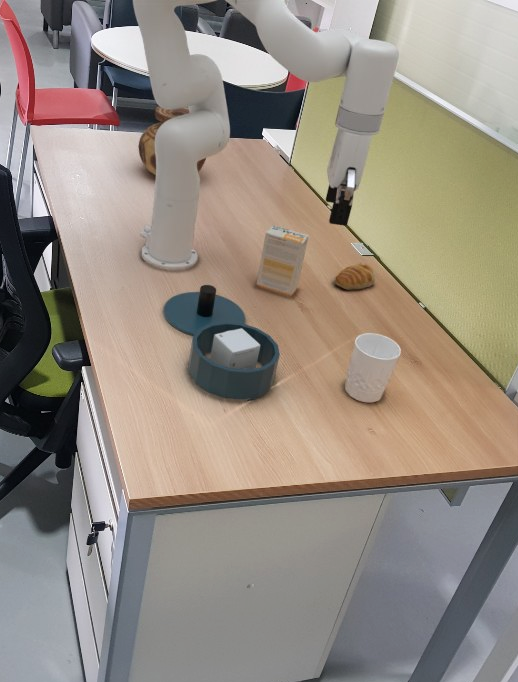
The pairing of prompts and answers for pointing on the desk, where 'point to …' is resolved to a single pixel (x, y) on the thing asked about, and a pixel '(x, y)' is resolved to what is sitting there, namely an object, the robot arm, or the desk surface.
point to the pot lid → (201, 310)
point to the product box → (235, 350)
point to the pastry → (355, 277)
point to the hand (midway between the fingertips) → (335, 212)
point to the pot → (229, 379)
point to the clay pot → (149, 135)
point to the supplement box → (282, 260)
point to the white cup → (371, 366)
